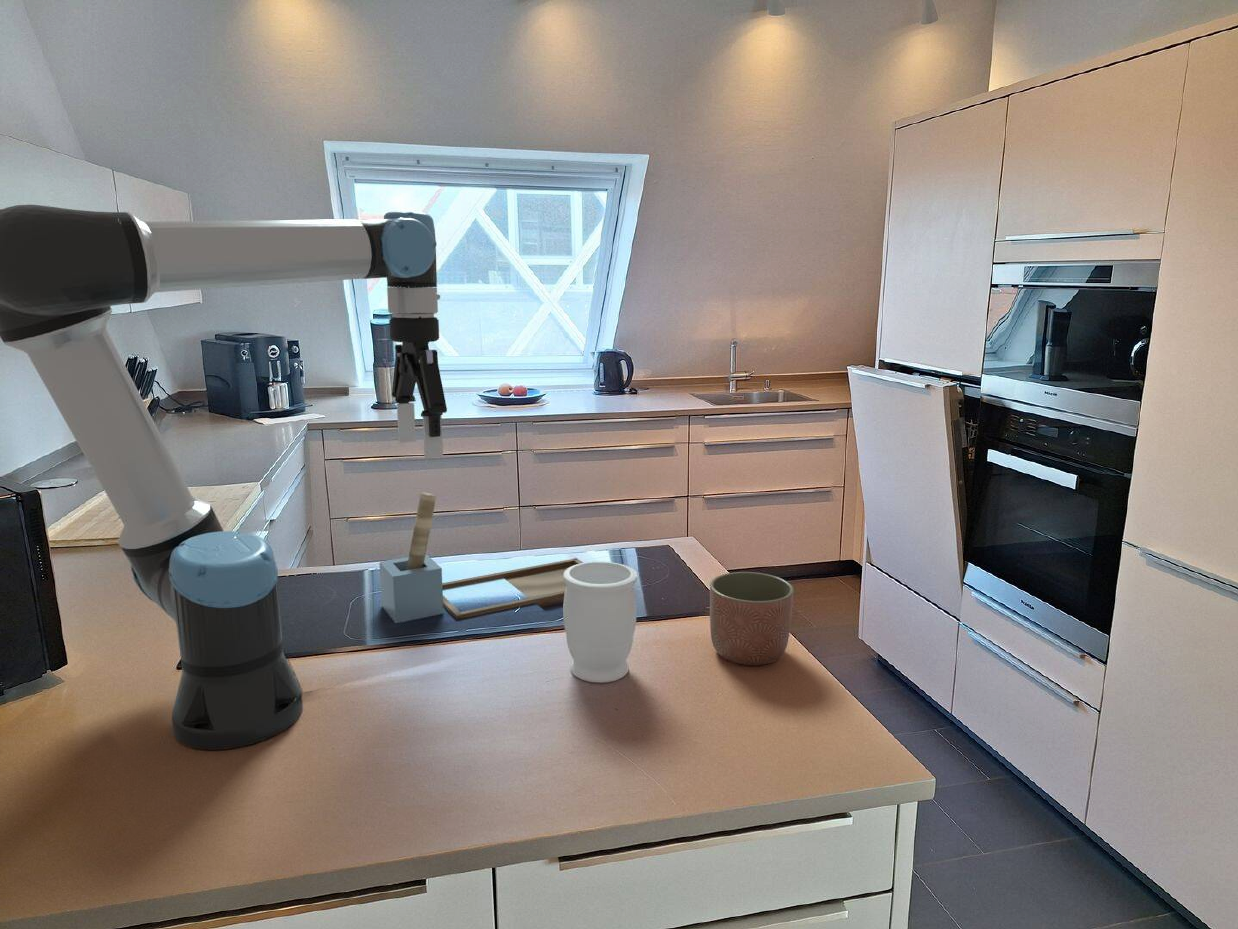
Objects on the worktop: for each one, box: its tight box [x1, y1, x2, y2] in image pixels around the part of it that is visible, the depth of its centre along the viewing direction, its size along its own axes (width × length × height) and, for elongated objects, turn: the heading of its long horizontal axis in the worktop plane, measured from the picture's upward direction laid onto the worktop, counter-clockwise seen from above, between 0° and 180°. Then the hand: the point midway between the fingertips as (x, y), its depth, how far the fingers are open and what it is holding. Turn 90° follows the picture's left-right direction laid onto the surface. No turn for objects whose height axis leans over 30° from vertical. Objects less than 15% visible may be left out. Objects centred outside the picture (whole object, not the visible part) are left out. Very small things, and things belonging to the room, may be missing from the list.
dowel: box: [406, 492, 437, 570], centre depth 136 cm, size 3×7×20 cm, turn 121°
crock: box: [379, 553, 445, 624], centre depth 136 cm, size 8×8×9 cm
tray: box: [442, 557, 584, 621], centre depth 147 cm, size 15×30×2 cm, turn 121°
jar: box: [562, 561, 638, 684], centre depth 117 cm, size 11×10×15 cm
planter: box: [709, 571, 795, 666], centre depth 124 cm, size 12×12×11 cm
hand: (420, 449), depth 132 cm, fingers open, 13 cm apart
